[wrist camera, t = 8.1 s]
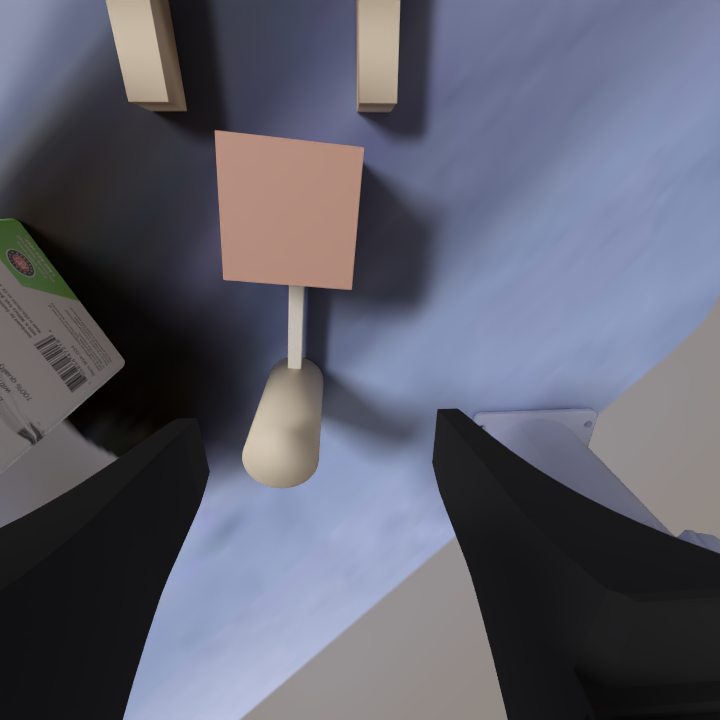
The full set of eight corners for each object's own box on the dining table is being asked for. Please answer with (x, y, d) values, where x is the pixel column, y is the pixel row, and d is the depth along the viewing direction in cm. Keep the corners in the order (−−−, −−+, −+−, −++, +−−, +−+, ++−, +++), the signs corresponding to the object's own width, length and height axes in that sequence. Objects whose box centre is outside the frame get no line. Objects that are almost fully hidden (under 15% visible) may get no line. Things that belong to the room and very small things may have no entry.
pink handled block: (336, 406, 23) (337, 489, 17) (254, 402, 22) (222, 486, 16) (356, 157, 17) (368, 140, 11) (247, 145, 17) (193, 120, 11)
